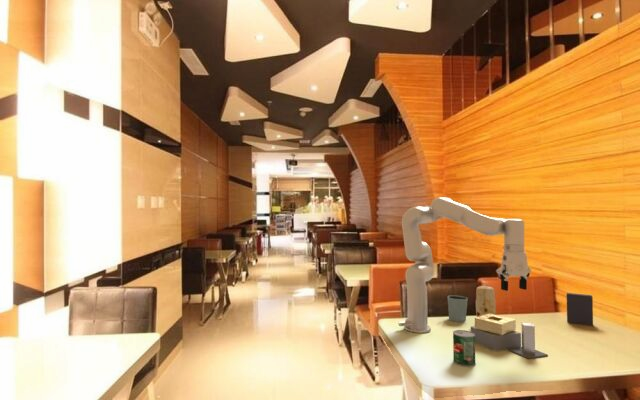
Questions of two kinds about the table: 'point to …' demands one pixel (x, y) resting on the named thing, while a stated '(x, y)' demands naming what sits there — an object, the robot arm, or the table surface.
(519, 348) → the pad
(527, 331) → the light grey tall block
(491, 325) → the wooden block with hole
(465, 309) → the blue-grey cup
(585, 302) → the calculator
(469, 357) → the canned tomato
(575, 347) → the table surface
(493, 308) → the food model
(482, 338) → the grey square block
